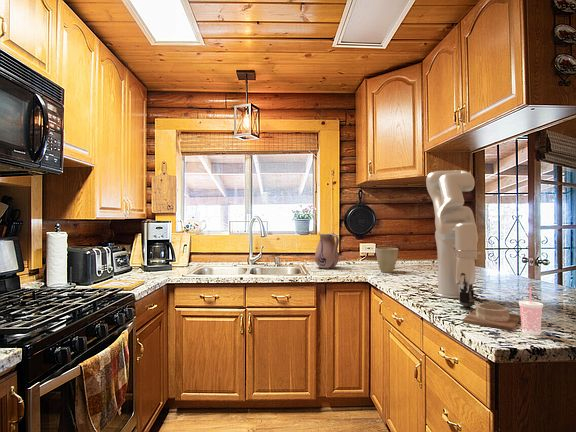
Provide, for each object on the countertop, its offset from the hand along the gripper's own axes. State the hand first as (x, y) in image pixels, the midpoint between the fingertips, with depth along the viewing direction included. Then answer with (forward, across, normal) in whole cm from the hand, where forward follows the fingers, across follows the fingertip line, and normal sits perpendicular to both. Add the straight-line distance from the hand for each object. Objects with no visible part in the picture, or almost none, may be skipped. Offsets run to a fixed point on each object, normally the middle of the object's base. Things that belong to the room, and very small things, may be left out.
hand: (466, 300), depth 130 cm
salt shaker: (+3, 0, 0) cm, 3 cm away
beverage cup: (+3, +18, +22) cm, 29 cm away
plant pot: (+3, -69, -65) cm, 95 cm away
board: (+3, +11, +10) cm, 16 cm away
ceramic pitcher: (+3, -60, -106) cm, 122 cm away
